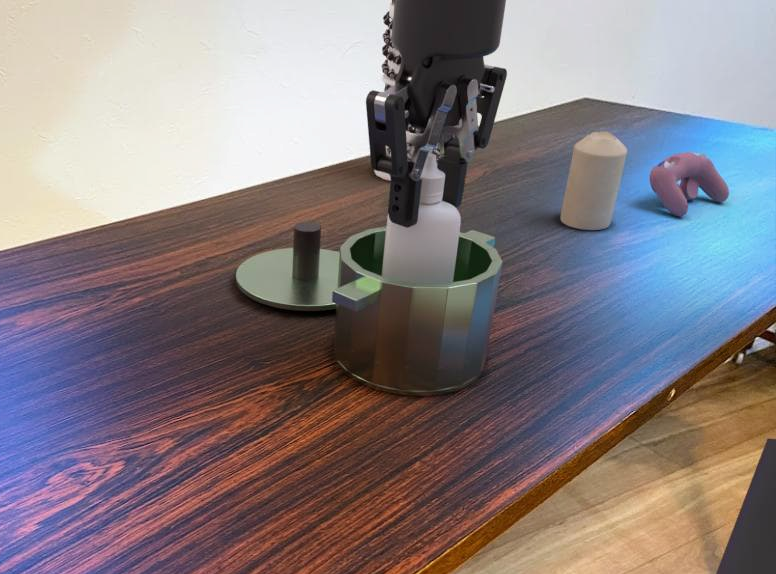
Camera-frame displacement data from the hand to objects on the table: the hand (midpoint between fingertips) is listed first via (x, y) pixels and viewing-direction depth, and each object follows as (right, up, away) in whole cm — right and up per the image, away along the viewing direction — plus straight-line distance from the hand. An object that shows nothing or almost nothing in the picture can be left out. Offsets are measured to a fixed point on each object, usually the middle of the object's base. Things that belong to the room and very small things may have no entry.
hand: (424, 214), depth 71 cm
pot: (0, -11, +7) cm, 13 cm away
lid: (-8, -3, +19) cm, 20 cm away
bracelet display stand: (+8, +15, +48) cm, 51 cm away
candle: (+25, +6, +33) cm, 42 cm away
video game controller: (+39, +9, +38) cm, 55 cm away
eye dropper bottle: (0, -6, +4) cm, 8 cm away
